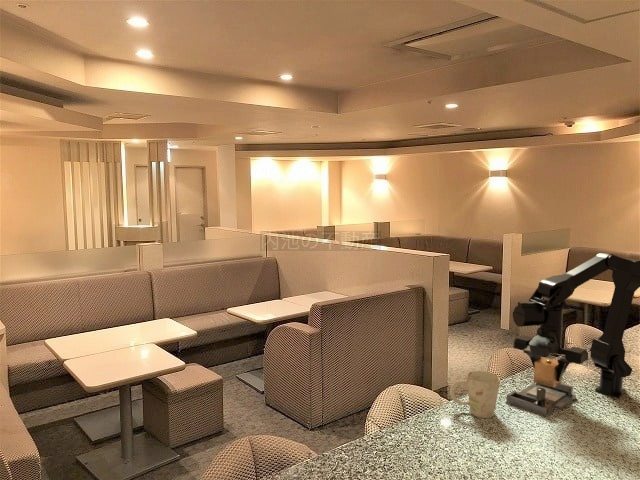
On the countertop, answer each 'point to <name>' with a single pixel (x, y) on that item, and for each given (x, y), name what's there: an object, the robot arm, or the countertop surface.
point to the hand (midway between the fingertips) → (547, 378)
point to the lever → (540, 397)
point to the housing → (546, 372)
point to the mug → (479, 393)
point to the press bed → (552, 394)
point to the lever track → (528, 403)
